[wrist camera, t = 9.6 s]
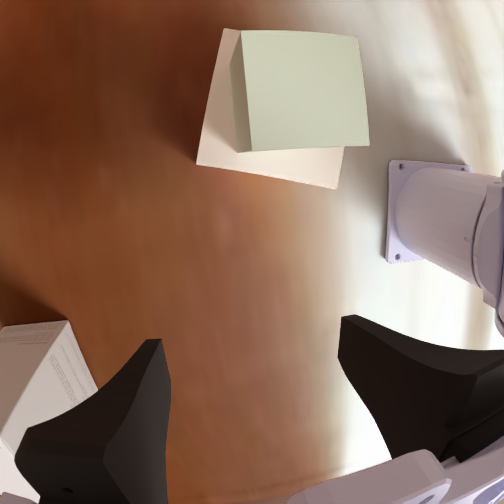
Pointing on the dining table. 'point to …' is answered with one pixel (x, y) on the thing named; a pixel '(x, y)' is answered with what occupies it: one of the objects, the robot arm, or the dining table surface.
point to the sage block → (297, 91)
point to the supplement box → (36, 388)
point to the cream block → (261, 162)
